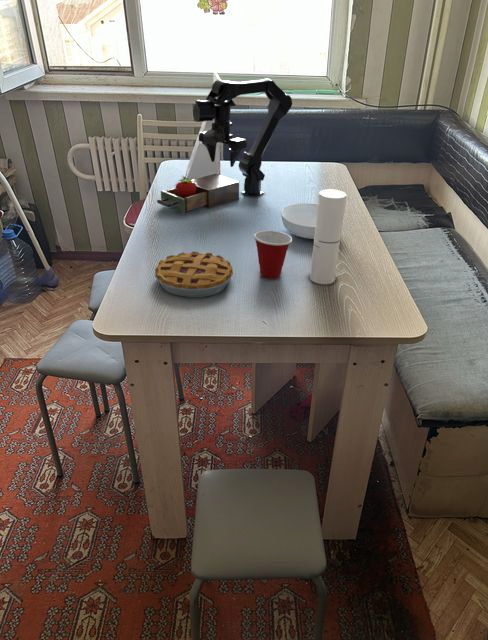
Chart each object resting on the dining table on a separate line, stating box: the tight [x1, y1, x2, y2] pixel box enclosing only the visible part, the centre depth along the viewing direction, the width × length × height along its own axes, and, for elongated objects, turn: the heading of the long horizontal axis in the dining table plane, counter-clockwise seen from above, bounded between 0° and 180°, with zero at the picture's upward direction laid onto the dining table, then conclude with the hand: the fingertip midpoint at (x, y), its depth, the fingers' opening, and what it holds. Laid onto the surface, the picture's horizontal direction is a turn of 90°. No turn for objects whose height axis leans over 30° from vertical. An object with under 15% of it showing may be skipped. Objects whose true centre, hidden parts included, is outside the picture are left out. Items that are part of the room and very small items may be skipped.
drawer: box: [156, 187, 208, 214], centre depth 193 cm, size 20×12×5 cm, turn 138°
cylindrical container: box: [309, 188, 347, 285], centre depth 146 cm, size 7×7×25 cm
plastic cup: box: [253, 230, 293, 280], centre depth 151 cm, size 11×11×12 cm
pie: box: [154, 251, 235, 298], centre depth 147 cm, size 22×22×5 cm
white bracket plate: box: [183, 70, 221, 180], centre depth 211 cm, size 20×14×40 cm
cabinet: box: [192, 174, 240, 209], centre depth 202 cm, size 16×13×7 cm
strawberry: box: [175, 174, 196, 199], centre depth 192 cm, size 6×8×10 cm
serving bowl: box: [280, 202, 318, 240], centre depth 179 cm, size 21×21×7 cm
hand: (222, 164), depth 198 cm, fingers open, 9 cm apart
